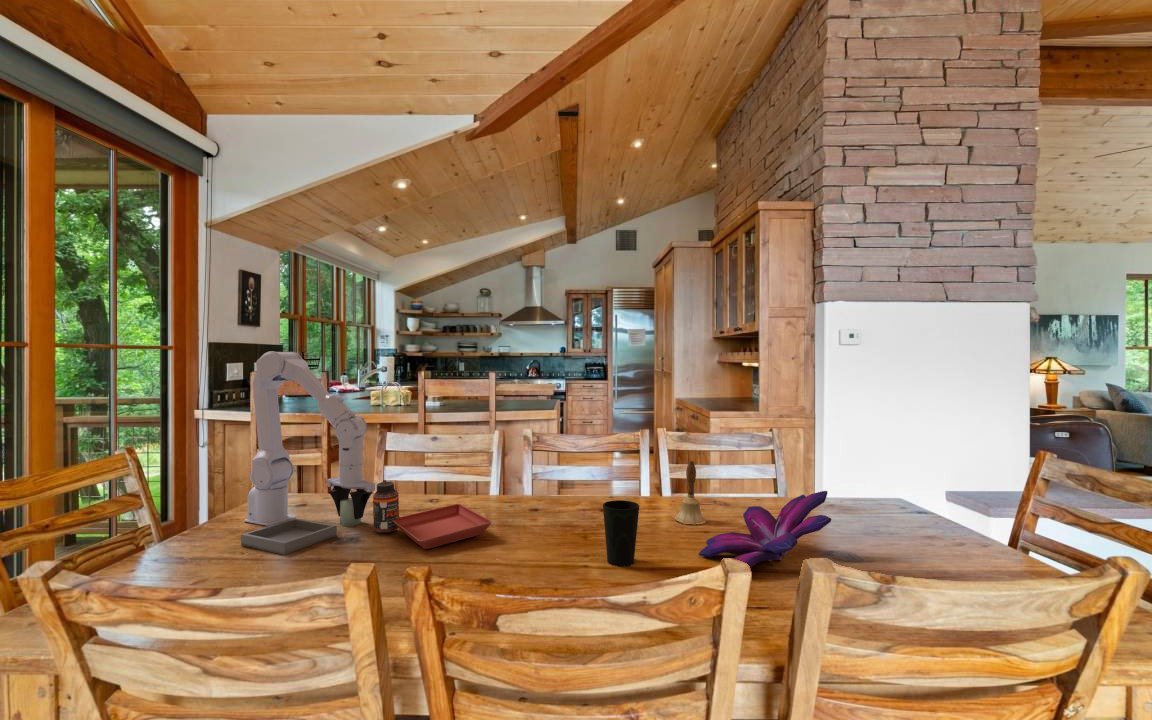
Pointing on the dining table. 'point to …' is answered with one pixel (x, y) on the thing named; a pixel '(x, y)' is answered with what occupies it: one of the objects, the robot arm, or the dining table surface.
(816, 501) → the decorative flower
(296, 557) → the dining table surface
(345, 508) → the green cylinder
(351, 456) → the robot arm
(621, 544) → the cup
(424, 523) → the plant saucer
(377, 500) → the supplement bottle
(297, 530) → the tray
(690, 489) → the hand bell
